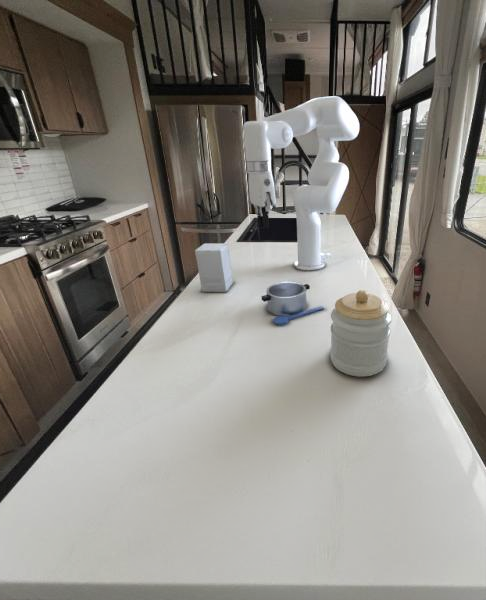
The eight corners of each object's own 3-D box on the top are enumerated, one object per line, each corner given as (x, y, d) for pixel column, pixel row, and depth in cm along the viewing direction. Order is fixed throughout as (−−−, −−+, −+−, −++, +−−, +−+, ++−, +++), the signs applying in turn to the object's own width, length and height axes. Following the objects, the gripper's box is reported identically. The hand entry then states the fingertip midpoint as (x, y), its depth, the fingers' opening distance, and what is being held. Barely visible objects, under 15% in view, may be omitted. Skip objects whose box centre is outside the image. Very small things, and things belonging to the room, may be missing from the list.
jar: (351, 385, 67) (355, 310, 60) (319, 353, 78) (319, 286, 70) (398, 366, 73) (408, 295, 65) (363, 339, 83) (368, 275, 75)
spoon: (318, 306, 100) (318, 303, 100) (326, 311, 97) (326, 309, 97) (271, 320, 93) (270, 318, 92) (278, 327, 90) (277, 324, 89)
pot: (298, 294, 109) (298, 277, 106) (319, 307, 100) (319, 289, 97) (255, 306, 101) (253, 288, 99) (273, 322, 92) (271, 303, 89)
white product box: (234, 282, 119) (229, 242, 113) (226, 292, 111) (220, 250, 105) (210, 281, 120) (204, 242, 114) (201, 291, 112) (193, 250, 106)
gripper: (281, 167, 94) (284, 230, 102) (260, 165, 106) (264, 222, 114) (258, 169, 91) (263, 234, 99) (238, 167, 102) (244, 225, 110)
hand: (263, 227), depth 106 cm, fingers closed
